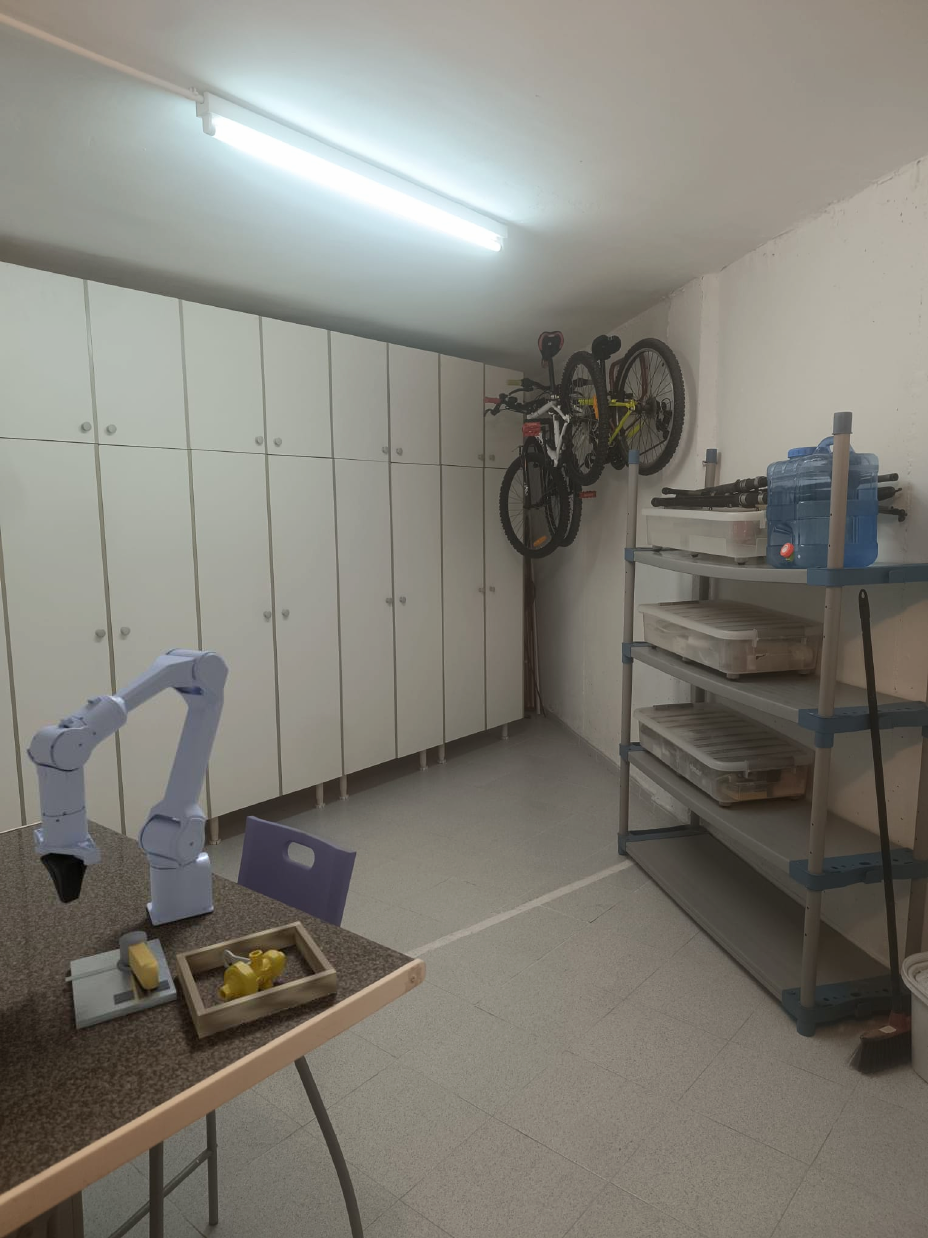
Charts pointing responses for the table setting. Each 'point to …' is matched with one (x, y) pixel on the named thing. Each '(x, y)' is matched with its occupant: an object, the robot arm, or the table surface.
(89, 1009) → the base
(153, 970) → the handle
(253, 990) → the pressure relief valve
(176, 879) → the robot arm
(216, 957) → the parts frame
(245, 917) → the table surface
